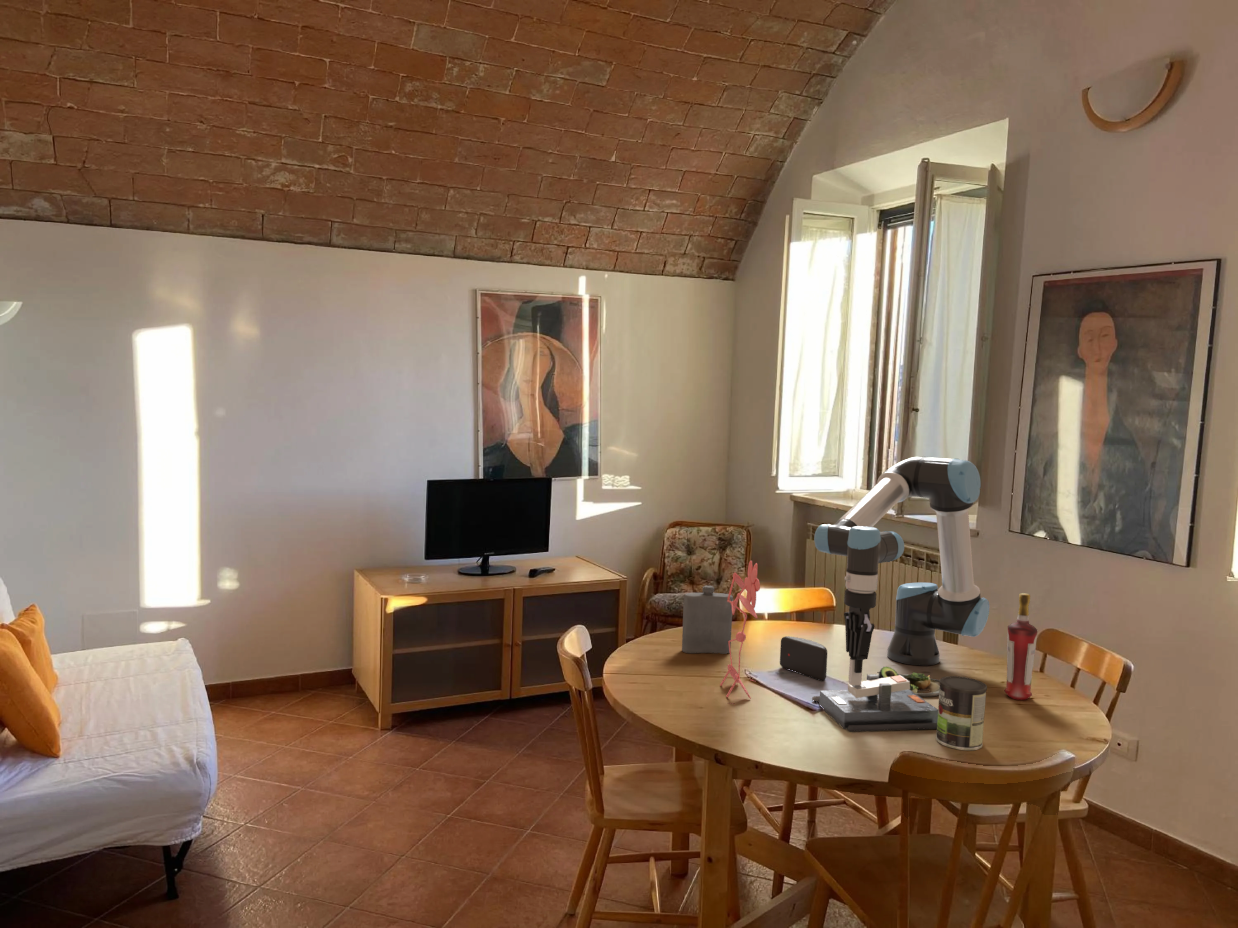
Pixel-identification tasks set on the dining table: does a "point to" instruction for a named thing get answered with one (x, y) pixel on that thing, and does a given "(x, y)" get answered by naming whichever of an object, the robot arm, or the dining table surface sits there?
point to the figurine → (751, 587)
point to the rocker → (873, 686)
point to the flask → (707, 622)
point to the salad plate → (915, 681)
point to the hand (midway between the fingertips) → (854, 684)
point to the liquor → (1020, 653)
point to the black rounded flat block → (804, 657)
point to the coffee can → (961, 713)
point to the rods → (887, 725)
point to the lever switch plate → (877, 707)
